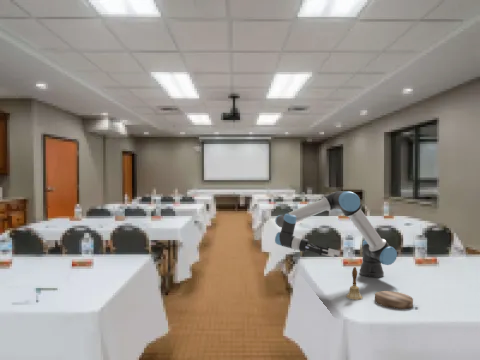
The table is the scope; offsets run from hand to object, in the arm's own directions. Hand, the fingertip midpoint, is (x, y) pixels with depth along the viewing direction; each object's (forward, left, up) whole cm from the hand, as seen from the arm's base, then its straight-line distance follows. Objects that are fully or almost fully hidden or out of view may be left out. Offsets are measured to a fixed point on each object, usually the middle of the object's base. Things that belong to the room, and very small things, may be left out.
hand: (336, 254), depth 195 cm
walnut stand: (-15, +25, -21) cm, 36 cm away
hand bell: (-3, +10, -22) cm, 24 cm away
